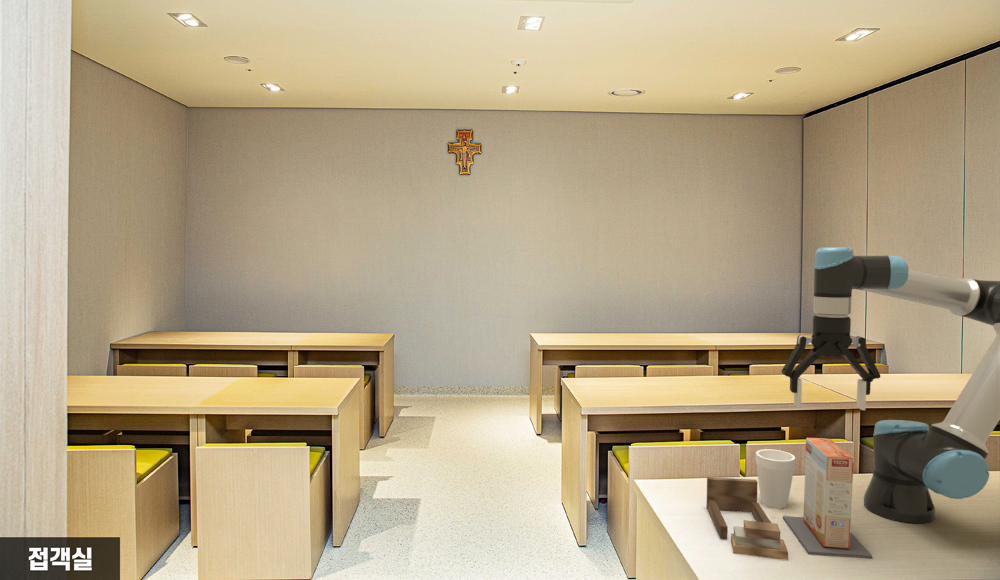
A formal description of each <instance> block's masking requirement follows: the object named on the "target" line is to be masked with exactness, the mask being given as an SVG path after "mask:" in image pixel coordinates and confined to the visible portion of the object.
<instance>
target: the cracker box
mask: <svg viewBox="0 0 1000 580" xmlns="http://www.w3.org/2000/svg"><path fill="white" fill-rule="evenodd" d="M805 439H806V441H805V462H804V463H805V464H804V465H805V466H804V492H803V493H804V495H803V516H802V517H803V520H804V522H805V523H806V524H807V526H808V527H809V528H810V530H811V531H812V532H813V534H814V535H815V536H816V538H817V539H818V540H819V542H820V543H821V544H822V546H823V547H832V548H843V549H850V532H851V529H852V528H851V527H852V523H851V522H852V506H853V505H852V504H853V503H852V502H853V483H854V481H853V480H854V461H855V460H854V459H855V458H854V456H852V455H851V454H850V453H849V452H847V451H846V450H844V448H842V447H841V446H840V445H839V444H838V443H836V442H835V441H833V439H831V438H825V437H824V438H822V437H820V438H819V437H806V438H805Z"/></svg>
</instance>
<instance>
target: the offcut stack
mask: <svg viewBox="0 0 1000 580" xmlns="http://www.w3.org/2000/svg"><path fill="white" fill-rule="evenodd" d="M730 542H731V543H730V544H731V548H732V553H733V554H735V555H736V554H737V555H745V556H752V557H761V558H768V559H776V560H784V561H788V560H789V550H788V548H787V545H786V542H785V540H784V539H781V530H780V526H779V525H778V523H773V522H771V523H766V522H757V521H756V520H746V519H744V520H743V526H737V525H733V533H731V534H730Z"/></svg>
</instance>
